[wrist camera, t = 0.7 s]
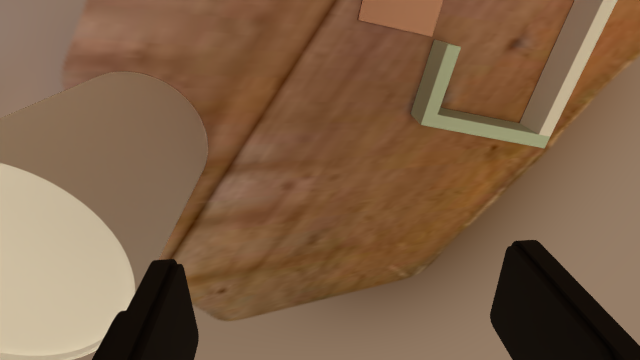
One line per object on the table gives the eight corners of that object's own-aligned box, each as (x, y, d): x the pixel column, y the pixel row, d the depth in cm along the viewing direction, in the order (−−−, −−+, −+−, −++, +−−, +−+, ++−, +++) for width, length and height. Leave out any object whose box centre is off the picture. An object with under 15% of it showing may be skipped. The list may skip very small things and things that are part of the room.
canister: (44, 158, 38) (-178, 307, 20) (97, 40, 33) (-129, 96, 16) (171, 221, 42) (80, 391, 24) (232, 123, 38) (178, 243, 20)
